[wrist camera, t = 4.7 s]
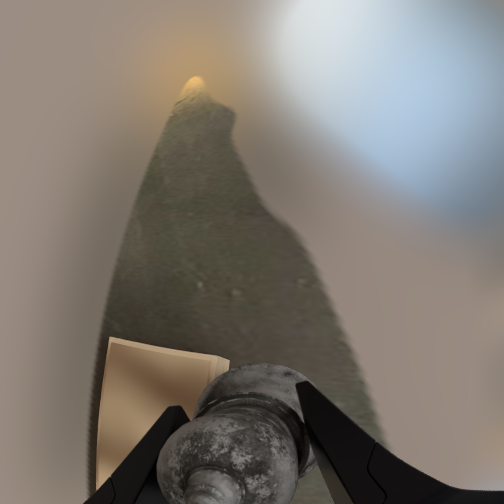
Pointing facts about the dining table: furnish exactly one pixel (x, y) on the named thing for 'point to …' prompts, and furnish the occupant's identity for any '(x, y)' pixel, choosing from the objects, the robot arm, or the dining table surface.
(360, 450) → the robot arm
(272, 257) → the dining table surface
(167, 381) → the tan wooden block
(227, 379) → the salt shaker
